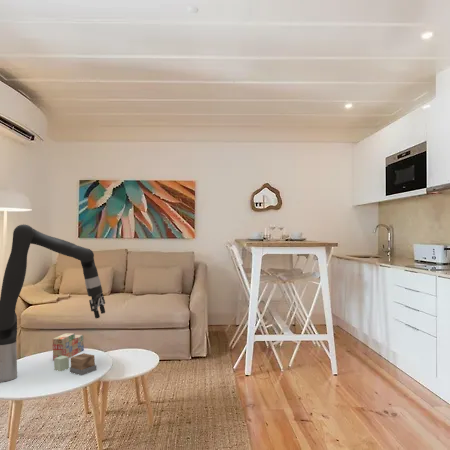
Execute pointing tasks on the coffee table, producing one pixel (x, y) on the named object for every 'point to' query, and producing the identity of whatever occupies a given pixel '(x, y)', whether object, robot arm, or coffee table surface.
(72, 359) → the walnut block
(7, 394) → the coffee table surface
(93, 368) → the charcoal slab
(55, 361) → the sage block
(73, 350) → the stack of blocks
